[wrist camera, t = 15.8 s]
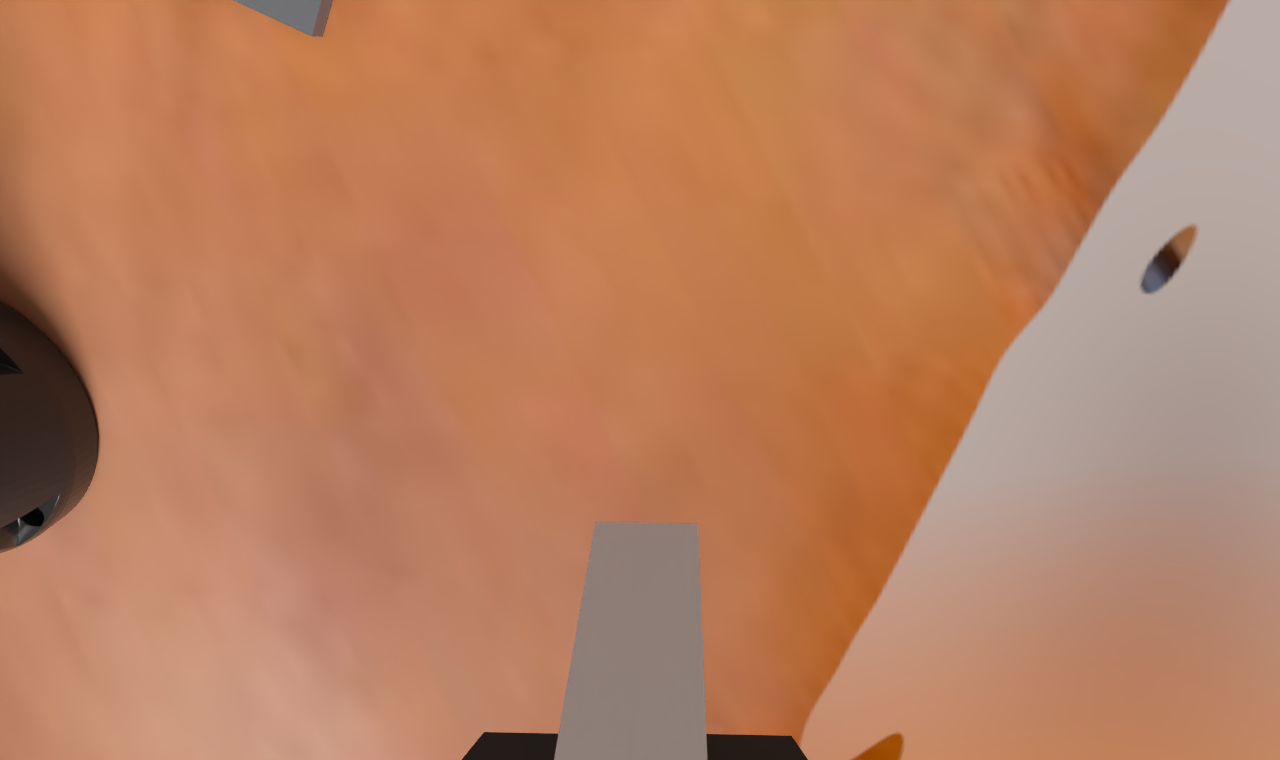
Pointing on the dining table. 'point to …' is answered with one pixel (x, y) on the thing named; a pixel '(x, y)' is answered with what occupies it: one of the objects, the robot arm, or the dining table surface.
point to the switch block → (295, 13)
